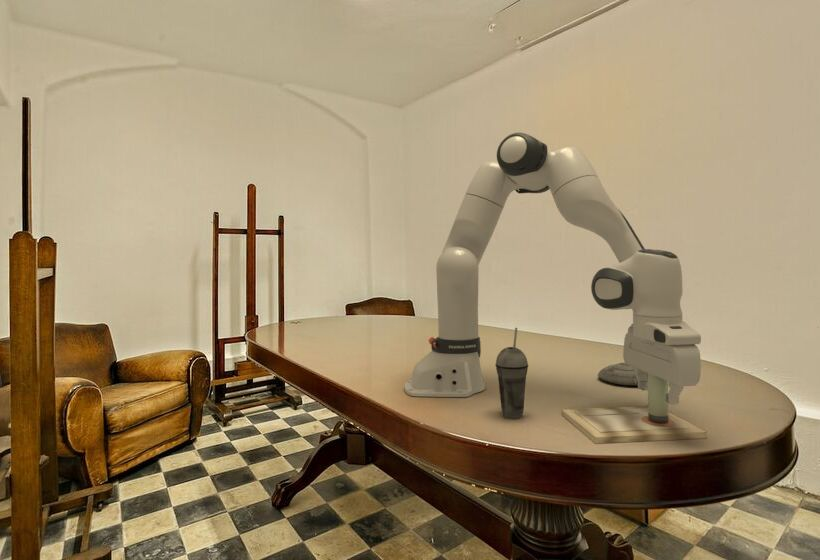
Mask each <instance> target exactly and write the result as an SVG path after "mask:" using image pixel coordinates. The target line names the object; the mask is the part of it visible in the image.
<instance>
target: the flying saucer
mask: <svg viewBox="0 0 820 560" xmlns="http://www.w3.org/2000/svg"><path fill="white" fill-rule="evenodd" d="M646 376H647V381H648V373H646ZM597 377H598V378H599V379H601V380H603V381H605V382H607V383H611V384H616V385H622V386H637V387H638V380H637V378H636V375H635V372H634V367H632V366H630V365H628V364H626V363H625V362H618V363H615V364H610V365H607V366H605V367H604V368H602V369H600V371H598V373H597Z"/></svg>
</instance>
